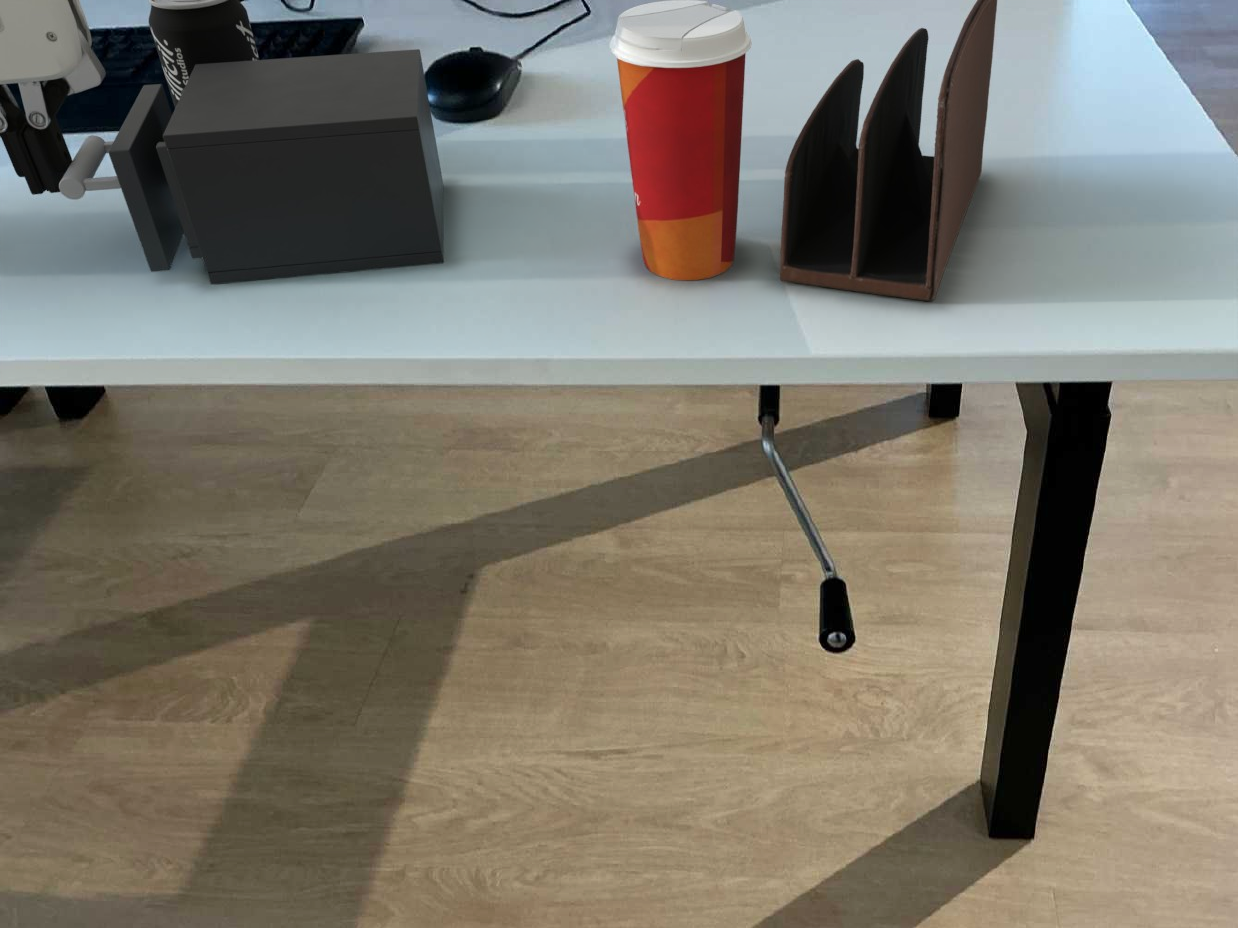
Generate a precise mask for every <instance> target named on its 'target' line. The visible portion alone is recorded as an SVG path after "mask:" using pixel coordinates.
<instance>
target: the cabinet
mask: <svg viewBox="0 0 1238 928" xmlns="http://www.w3.org/2000/svg"><path fill="white" fill-rule="evenodd" d="M430 105H431V104H430V99H429V94H428V88H427V83H426V76H425V71H424V66H423V60H422V54H421V49H419V48H417V49H416V48H415V49H403V50H389V51H388V50H387V51H373V52H371V51H370V52H360V53H359V52H358V53H345V54H344V53H343V54H342V53H341V54H327V55H316V56H315V55H314V56H300V57H285V58H283V57H282V58H271V59H270V58H269V59H268V58H267V59H259V60H254V61H239V62H224V63H209V64H196V65H195V67H194V69H193V71H192V73H191V76H190V78H189V80H188V82H187V84H186V86H185V89H184V91H183V93H182V95H181V97H180V99H179V102H178V104H177V106H176V108H175V107H174V111H173V112H172V117H171V119H170V121H169V123H168V125H167V128H166V130H165V132H164V134H163V139H164V142H165V145H166V148H167V151H168V154H169V157H170V160H171V163H172V166H173V169H174V172H175V175H176V178H177V182H178V185H179V188H180V191H181V194H182V197H183V200H184V203H185V206H186V209H187V212H188V215H189V219H190V222H191V225H192V228H193V231H194V234H195V237H196V240H197V243H198V246H199V249H200V253H201V256H202V258H201V260H202V261H203V265H204V268H205V271H206V272H207V273H206V274H207V277H208V281H209V283H210V285H217V284H227V283H239V282H249V281H260V280H273V279H282V278H294V277H304V276H315V275H316V276H317V275H325V274H337V273H347V272H358V271H359V272H360V271H369V270H380V269H381V270H382V269H391V268H402V267H412V266H413V267H414V266H422V265H423V266H425V265H433V264H435V265H436V264H443V263H444V262H445V261H444V260H445V259H444V258H445V257H444V255H445V254H444V253H445V252H444V249H445V248H444V246H445V245H444V243H445V241H444V240H445V239H444V238H445V237H444V180H443V175H442V168H441V163H440V158H439V152H438V146H437V140H436V133H435V128H434V123H433V117H432V111H431V106H430Z"/></svg>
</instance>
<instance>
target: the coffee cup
mask: <svg viewBox="0 0 1238 928" xmlns="http://www.w3.org/2000/svg"><path fill="white" fill-rule="evenodd" d="M731 10H732V9H731V8H729V7H726V6H723V5H720V4H716V3H711V4H710V2H709V1H707V0H662V1H661V0H660V1H653V2H649V3H644V4H640V5H639V4H638V5H636V6H634V7H631V8H628V9H627V10H625V11H623V12H621V13H620V14H619V16H618V18H617V20H616V28H615V32H614V34H613V36H612V37H611V39H610V42H609V50H610V51H611V53H612V54H613V55H614V56H615V57H616V61H617V72H618V78H619V86H620V94H621V102H622V110H623V117H624V127H625V134H626V143H627V149H628V150H627V151H628V157H629V158H628V159H629V166H630V174H631V181H632V190H633V196H634V197H633V198H634V206H635V213H636V219H637V227H638V234H639V240H640V248H641V254H642V260H643V264H644V266H645V268H646V269H647V270H648V271H650V272H651V273H653V274H654V275H656V276H659V277H662V278H666V279H670V280H675V281H697V280H699V281H700V280H704V279H705V280H706V279H709V278H713V277H715V276H718V275H721V274H722V273H724V272H726V271H727V270H728V269H730V267H732V265H733V263H734V260H735V251H736V242H737V230H738V229H737V227H738V226H737V225H738V213H739V212H738V211H739V195H740V194H739V191H740V174H741V156H742V155H741V154H742V136H743V135H742V133H743V115H744V114H743V113H744V95H745V94H744V93H745V72H746V56H747V55H746V54H747V52H749V51H750V49H751V48H752V45H753V44H752V42H753V41H752V38H751V36H750V34H749V33H748V31H746V25H745V20H744V17H743V15H742V14H741V12H740V11H739V10H737V9H735V10H732V11H731Z"/></svg>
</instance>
